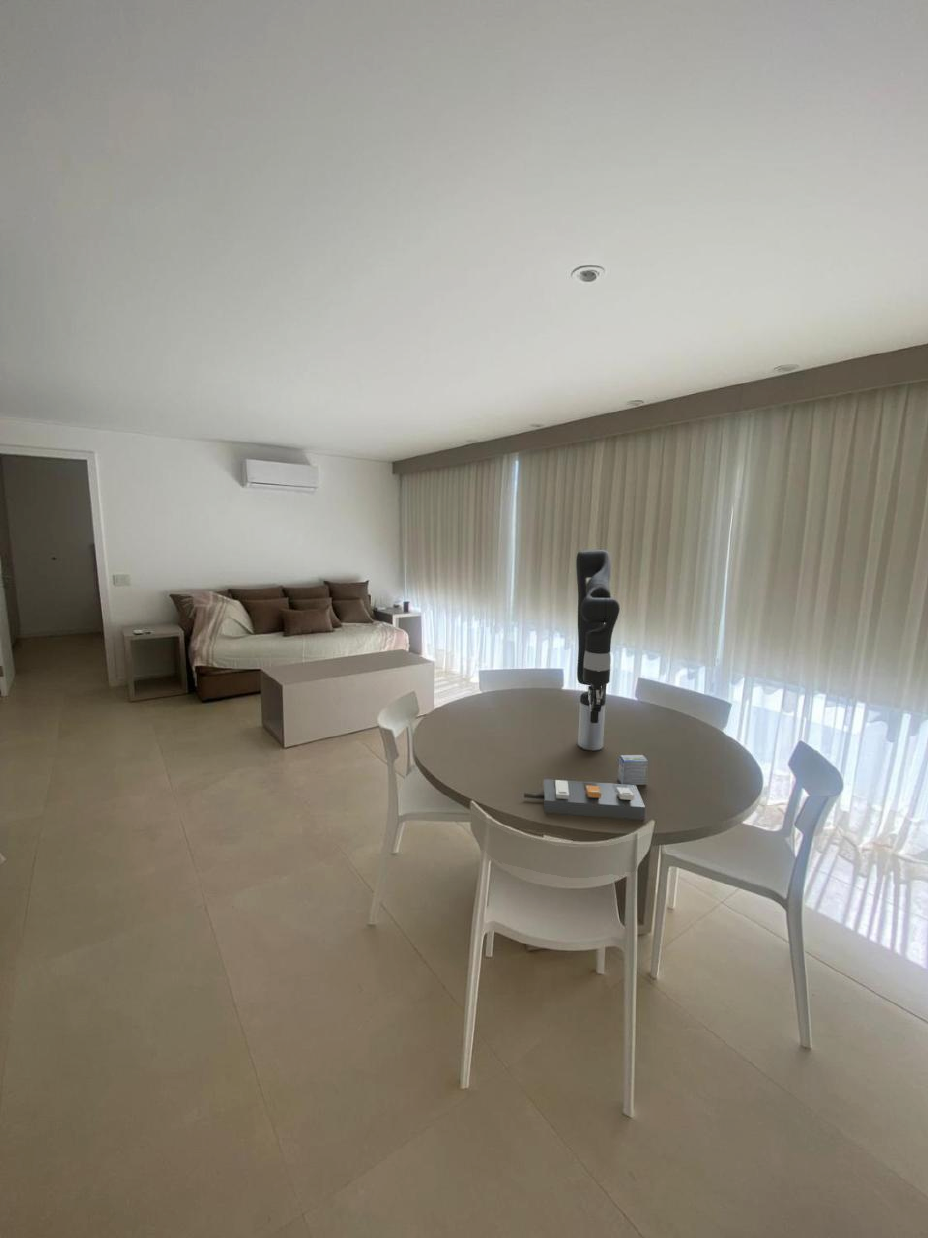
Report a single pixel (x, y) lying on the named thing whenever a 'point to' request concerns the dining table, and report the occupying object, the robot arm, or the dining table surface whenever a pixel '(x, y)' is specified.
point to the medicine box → (633, 769)
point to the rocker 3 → (625, 793)
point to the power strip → (592, 801)
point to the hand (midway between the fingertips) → (593, 722)
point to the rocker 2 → (593, 791)
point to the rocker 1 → (562, 789)
